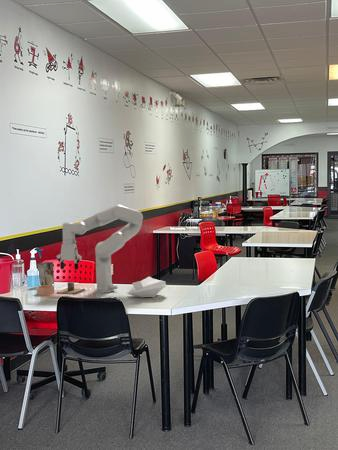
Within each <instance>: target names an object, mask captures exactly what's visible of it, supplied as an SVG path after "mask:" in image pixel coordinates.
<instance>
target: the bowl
mask: <svg viewBox="0 0 338 450" xmlns="http://www.w3.org/2000/svg"><path fill="white" fill-rule="evenodd" d="M35 288H36V295H37V296H40V297H41V296H43V297H44V296H52V295H54V294H55V285H53V286H52V285H45V286H36V287H35Z"/></svg>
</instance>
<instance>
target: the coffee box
mask: <svg viewBox="0 0 338 450" xmlns="http://www.w3.org/2000/svg"><path fill="white" fill-rule="evenodd" d="M36 265H37V272H38V271H39V278H40V285H41V286H45V285H52V284H54V285H55V277H54V276H55V275H54V271H55V270H54V262H53V261H44V262H37V263H36Z"/></svg>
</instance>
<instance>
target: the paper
mask: <svg viewBox="0 0 338 450" xmlns="http://www.w3.org/2000/svg"><path fill="white" fill-rule="evenodd" d="M131 284H132V288H131V289H129V290H128V292H127V293H126V294H127V295H130V296H134V297H137V298H138V297H139V298H141V297H142V299H144V298H143V297H154V298H155V297H156V295H157V294H159V293H160V292H161V291H162V290H163V289H164V288H166V287H167V283H166V280H165V281H164V280H161V279H160V280H159V279H156V278H153V277H151V276H147V277H146V278H144V279H142V280H139V281H136V282H132V283H131Z"/></svg>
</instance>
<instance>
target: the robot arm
mask: <svg viewBox="0 0 338 450" xmlns="http://www.w3.org/2000/svg"><path fill="white" fill-rule="evenodd" d="M143 219H144V215H143V213H142V212H141V211H140V210H137V209H133V208H130V207H126V206H123V205H122V204H115V205H113V206H111V207H108V208H106V209H104V210H102V211H99V212H97V213H95V214H94V215H92V216H90V217H88V218H84V219H82V220H80V221H78V222H63V223H62V244H61V249H60V253H59V254H57V255H56V259H57V261H58V262H59V264H60V265H59V266H60V270H64V269H65V262H64V261H73V262H74V271H77V270H78V269H79V263H80V261H82V258H83V256H81V254H79V253H78V252H79V251H78V247H77V244H76V243H77V240H76V235H84V234H85V233H86V232H87V231H90V230H93V229H95V228H98V227H102V226H105V225H107V224H110V223H112V222H115V221H116V220H120V221H123V222H126V223H127V224H126V225H124V226H123V227H122V228H120V229H119V230H117V231H116V232H114V233H112V234H111V236H109V237H108V238H106V239H105V240H103V241H99V242H98V243H96V246H95V249H94V251H95V271H96V272H95V276H96V288H95V289H94V292H95V293H104V292H107V293H112V292H111V291H113V292H115V290H117V289H118V285H114V283H113V282H112V279H113V278H112V255H113V254H114V253H116V252H117V251H119V250H120V249H122V248H123V247H124V246H125V244H126V243H127V242H128V241H129V240H131V239H132V238H133V237H135V236H136V235H137V234H138V233H139V232H140V230H141V228H142V226H143Z"/></svg>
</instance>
